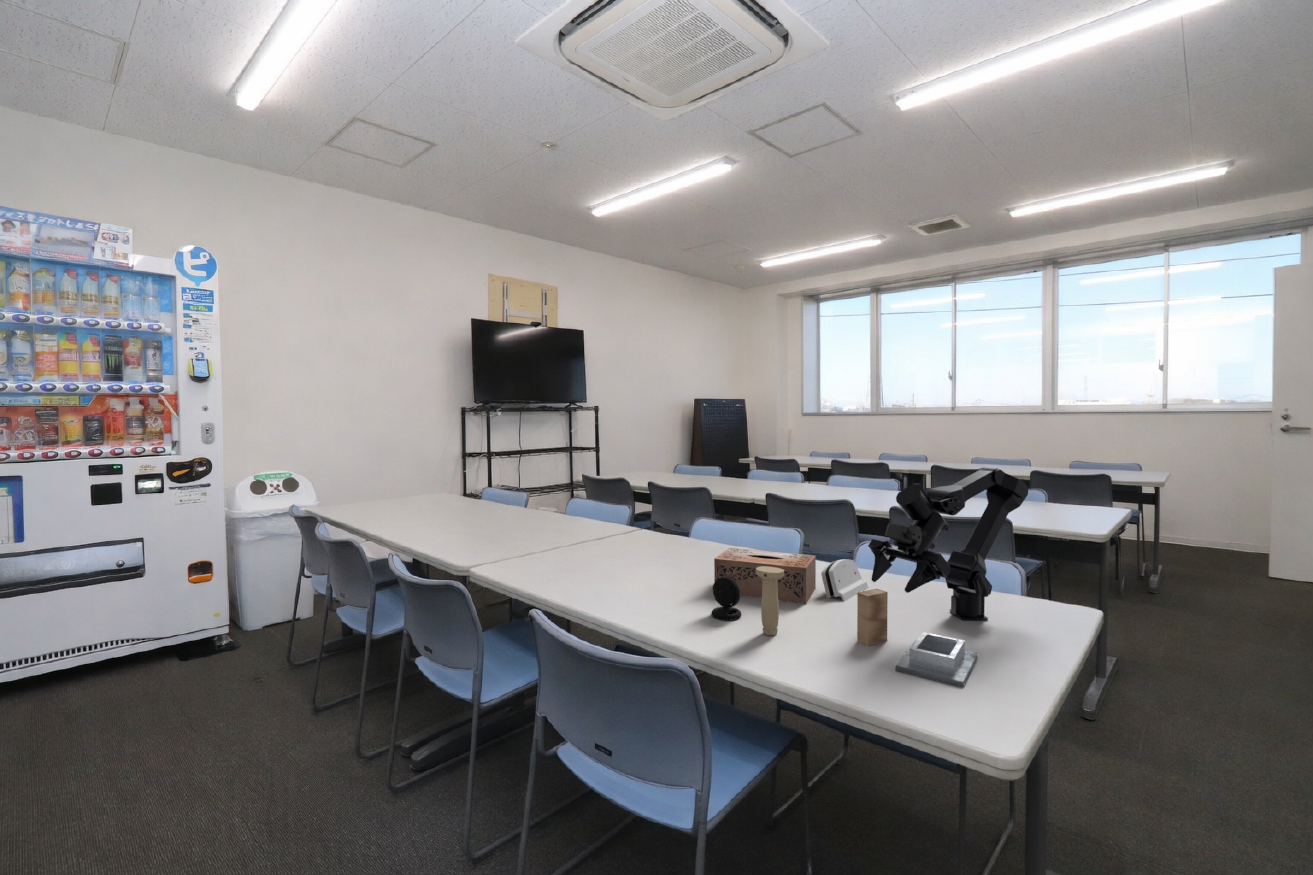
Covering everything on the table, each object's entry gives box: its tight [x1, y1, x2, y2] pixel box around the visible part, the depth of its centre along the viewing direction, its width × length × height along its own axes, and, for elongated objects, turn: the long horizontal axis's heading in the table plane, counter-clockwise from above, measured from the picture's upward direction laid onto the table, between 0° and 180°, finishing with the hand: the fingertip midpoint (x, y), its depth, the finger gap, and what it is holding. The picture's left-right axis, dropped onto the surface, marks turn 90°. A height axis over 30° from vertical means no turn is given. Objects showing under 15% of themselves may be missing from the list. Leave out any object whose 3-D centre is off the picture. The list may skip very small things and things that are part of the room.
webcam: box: [711, 576, 742, 622], centre depth 147 cm, size 8×8×10 cm
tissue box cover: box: [713, 547, 817, 605], centre depth 167 cm, size 26×14×10 cm, turn 65°
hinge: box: [821, 558, 869, 602], centre depth 166 cm, size 17×5×10 cm, turn 138°
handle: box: [756, 566, 784, 637], centre depth 134 cm, size 5×6×15 cm
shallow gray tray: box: [894, 631, 979, 688], centre depth 118 cm, size 16×12×4 cm
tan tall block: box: [856, 588, 889, 647], centre depth 130 cm, size 6×3×11 cm, turn 117°
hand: (888, 586), depth 132 cm, fingers open, 9 cm apart
